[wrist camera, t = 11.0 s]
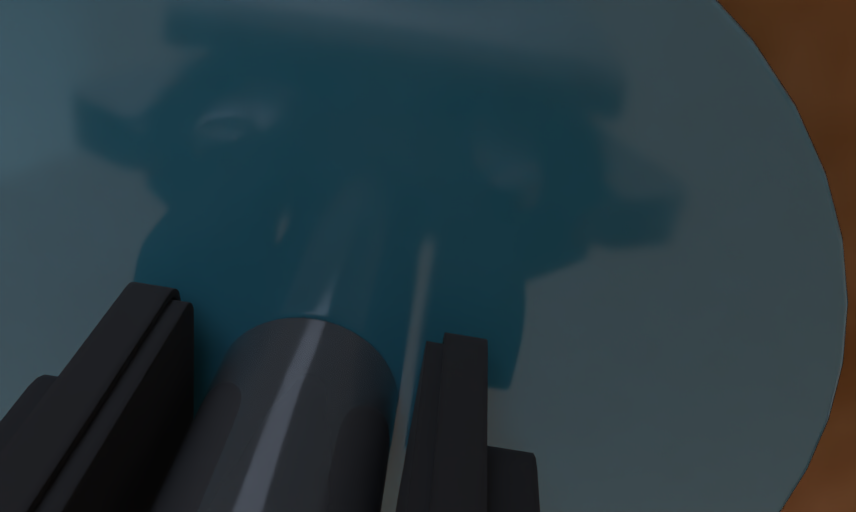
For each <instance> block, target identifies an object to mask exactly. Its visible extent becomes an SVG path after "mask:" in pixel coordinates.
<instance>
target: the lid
mask: <svg viewBox="0 0 856 512" xmlns="http://www.w3.org/2000/svg"><path fill="white" fill-rule="evenodd" d="M130 282H139V283H145V284H151V285H157V286H164V287H170V288H176V289H177V290H178V291H179V293H180V298H181V301H184V302H190V303H192V304H193V308H194V412H193V422H192V424H191V426H190V428H189V430H188V432H187V434H186V436H185V438H184V440H183V442H182V445H181V447H180V449H179V451H178V453H177V455H176V457H175V459H174V461H173V463H172V465H171V467H170V469H169V472H168V474H167V476H166V478H165V480H164V482H163V484H162V486H161V488H160V490H159V492H158V494H157V496H156V498H155V501H154V503H153V505H152V507H151V509H150V511H149V512H396V506H397V500H398V494H399V488H400V483H401V477H402V472H403V466H404V461H405V455H406V450H407V444H408V439H409V433H410V428H411V422H412V416H413V411H414V405H415V400H416V394H417V389H418V383H419V378H420V372H421V367H422V361H423V356H424V350H425V345H426V341H430V342H436V343H442V342H443V337H444V334H445V332H446V333H452V334H459V335H465V336H471V337H477V338H483V339H487V340H488V411H487V446H493V447H499V448H505V449H512V450H518V451H524V452H530V453H534V455H535V457H536V463H537V473H538V488H539V502H540V512H781V510H782V509H783V507H784V506H785V504H786V502H787V501H788V499H789V498H790V496H791V494H792V493H793V491H794V490H795V488H796V486H797V485H798V483H799V482H800V480H801V478H802V477H803V475H804V474H805V472H806V470H807V469H808V466H809V464H810V462H811V459H812V457H813V455H814V452H815V450H816V448H817V445H818V443H819V441H820V439H821V436H822V434H823V432H824V429H825V427H826V425H827V422H828V420H829V417H830V413H831V409H832V405H833V401H834V397H835V393H836V389H837V385H838V381H839V377H840V373H841V369H842V365H843V358H844V346H845V334H846V322H847V309H848V293H847V281H846V270H845V258H844V246H843V237H842V233H841V229H840V225H839V221H838V217H837V214H836V210H835V206H834V202H833V198H832V194H831V190H830V187H829V183H828V179H827V175H826V171H825V169H824V167H823V165H822V162H821V160H820V158H819V156H818V153H817V151H816V149H815V147H814V144H813V142H812V140H811V138H810V136H809V133H808V131H807V129H806V127H805V124H804V122H803V120H802V118H801V115H800V113H799V111H798V109H797V106H796V104H795V103H794V101H793V100H792V98H791V97H790V95H789V94H788V92H787V91H786V89H785V88H784V86H783V85H782V83H781V82H780V80H779V79H778V77H777V75H776V74H775V72H774V71H773V69H772V68H771V66H770V65H769V63H768V62H767V60H766V59H765V57H764V56H763V54H762V53H761V51H760V50H759V48H758V47H757V45H756V43H755V42H754V40H753V39H752V38H751V37H750V36H749V35H748V34H747V32H746V31H745V30H744V29H743V28H742V27H741V26H740V25H739V24H738V23H737V21H736V20H735V19H734V18H733V17H732V16H731V15H730V14H729V13H728V12H727V10H726V9H725V8H724V7H723V6H722V5H721V4H720V3H719V2H718V1H717V0H0V421H1V420H2V419H3V418H4V416H5V415H6V414H7V413H8V411H9V410H10V409H11V407H12V406H13V405H14V404H15V402H16V401H17V400H18V399H19V397H20V396H21V395H22V394H23V392H24V391H25V390H26V389H27V387H28V386H29V385H30V384H31V383H32V382H33V381H34V380H35V379H36V378H37V377H40V376H42V375H52V376H59V375H60V373H61V372H62V371H63V369H64V368H65V367H66V365H67V364H68V363H69V361H70V360H71V359H72V357H73V356H74V355H75V353H76V352H77V351H78V349H79V348H80V347H81V345H82V344H83V343H84V341H85V340H86V339H87V338H88V336H89V335H90V334H91V332H92V331H93V330H94V328H95V327H96V326H97V324H98V323H99V322H100V320H101V319H102V318H103V316H104V315H105V314H106V312H107V311H108V310H109V308H110V307H111V306H112V304H113V303H114V302H115V300H116V299H117V298H118V296H119V295H120V294H121V292H122V291H123V290H124V288H125V287H126V286H127V285H128V284H129V283H130Z"/></svg>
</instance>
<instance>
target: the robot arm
mask: <svg viewBox="0 0 856 512" xmlns="http://www.w3.org/2000/svg"><path fill="white" fill-rule="evenodd" d="M487 411H488V340H487V339H483V338H477V337H471V336H465V335H459V334H452V333H446V332H445V334H444V337H443V342H442V343H436V342H430V341H426V345H425V350H424V356H423V361H422V367H421V372H420V378H419V383H418V389H417V394H416V400H415V405H414V411H413V416H412V422H411V428H410V433H409V439H408V444H407V450H406V455H405V461H404V466H403V472H402V477H401V483H400V488H399V494H398V500H397V506H396V512H540V502H539V488H538V473H537V463H536V457H535V455H534V453H530V452H524V451H518V450H512V449H505V448H499V447H493V446H487ZM193 412H194V308H193V304H192V303H190V302H184V301H181V298H180V293H179V291H178V290H177V289H176V288H170V287H164V286H157V285H151V284H145V283H139V282H130V283H129V284H128V285H127V286H126V287H125V288H124V290H123V291H122V292H121V294H120V295H119V296H118V298H117V299H116V300H115V302H114V303H113V304H112V306H111V307H110V308H109V310H108V311H107V312H106V314H105V315H104V316H103V318H102V319H101V320H100V322H99V323H98V324H97V326H96V327H95V328H94V330H93V331H92V332H91V334H90V335H89V336H88V338H87V339H86V340H85V341H84V343H83V344H82V345H81V347H80V348H79V349H78V351H77V352H76V353H75V355H74V356H73V357H72V359H71V360H70V361H69V363H68V364H67V365H66V367H65V368H64V369H63V371H62V372H61V373H60V375H59V376H52V375H42V376H40V377H37V378H36V379H35V380H34V381H33V382H32V383H31V384H30V385H29V386H28V387H27V389H26V390H25V391H24V392H23V394H22V395H21V396H20V397H19V399H18V400H17V401H16V402H15V404H14V405H13V406H12V407H11V409H10V410H9V411H8V413H7V414H6V415H5V416H4V418H3V419H2V420H1V421H0V512H149V511H150V509H151V507H152V505H153V503H154V501H155V498H156V496H157V494H158V492H159V490H160V488H161V486H162V484H163V482H164V480H165V478H166V476H167V474H168V472H169V469H170V467H171V465H172V463H173V461H174V459H175V457H176V455H177V453H178V451H179V449H180V447H181V445H182V442H183V440H184V438H185V436H186V434H187V432H188V430H189V428H190V426H191V424H192V422H193Z"/></svg>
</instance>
